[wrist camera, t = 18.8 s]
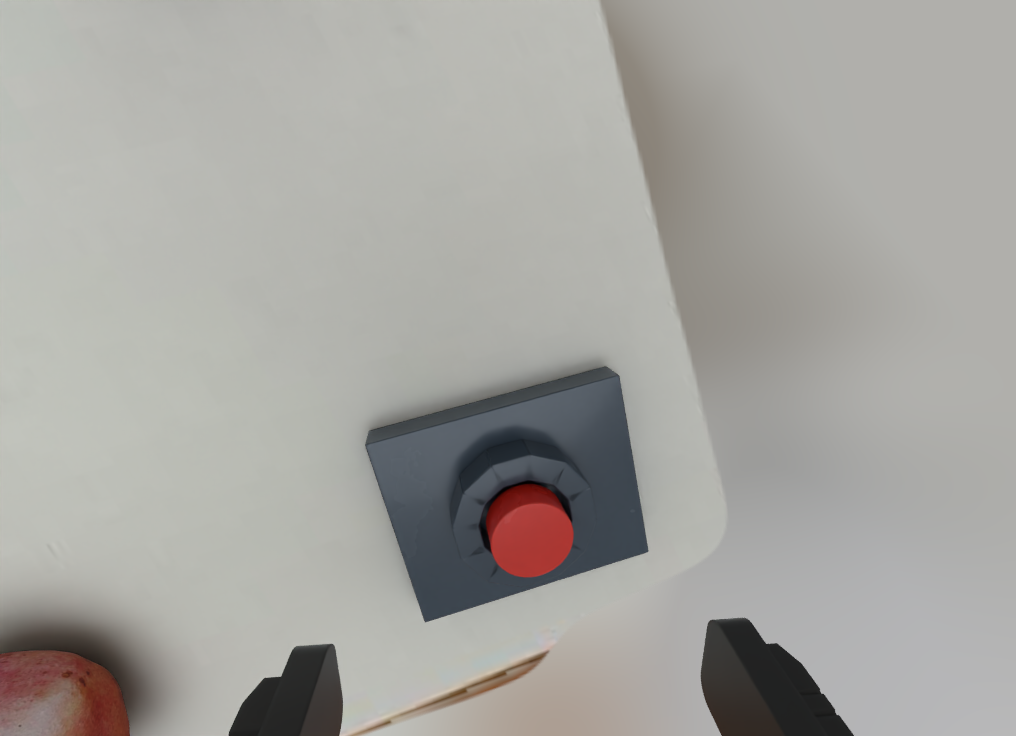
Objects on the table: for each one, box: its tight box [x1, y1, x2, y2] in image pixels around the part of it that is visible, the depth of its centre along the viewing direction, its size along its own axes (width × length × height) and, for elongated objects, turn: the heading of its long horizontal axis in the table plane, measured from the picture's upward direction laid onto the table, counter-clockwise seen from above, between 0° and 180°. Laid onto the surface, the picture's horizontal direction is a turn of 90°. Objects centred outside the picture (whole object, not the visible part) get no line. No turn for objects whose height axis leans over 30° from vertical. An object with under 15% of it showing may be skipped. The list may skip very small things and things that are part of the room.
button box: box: [365, 367, 648, 622], centre depth 24 cm, size 12×10×4 cm
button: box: [486, 484, 574, 577], centre depth 22 cm, size 4×4×2 cm
